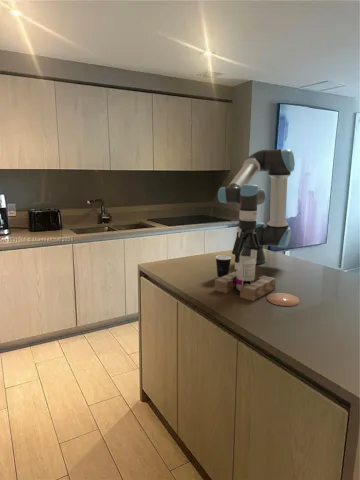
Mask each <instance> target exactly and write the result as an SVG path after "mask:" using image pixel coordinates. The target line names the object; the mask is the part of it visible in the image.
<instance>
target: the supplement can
mask: <svg viewBox="0 0 360 480" xmlns="http://www.w3.org/2000/svg"><path fill="white" fill-rule="evenodd" d="M236 271H237V276H236V287H235V288H236V290H237V291H239V292H240V288H241V286H242V285H244V284H252V283H254V282H256V281H255V280H256V264H255V260H254V258H253V257H250V256H241V270H237V269H236Z"/></svg>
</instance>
